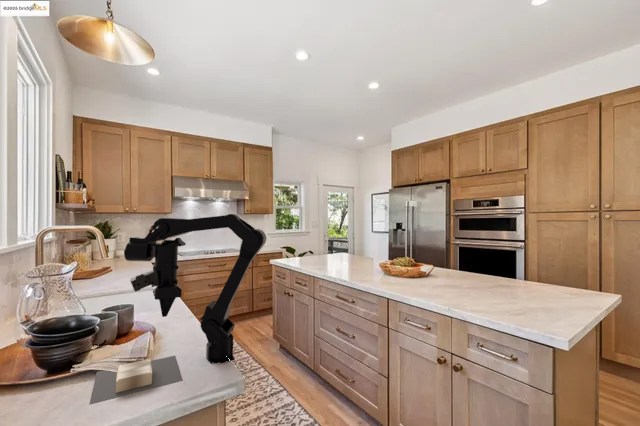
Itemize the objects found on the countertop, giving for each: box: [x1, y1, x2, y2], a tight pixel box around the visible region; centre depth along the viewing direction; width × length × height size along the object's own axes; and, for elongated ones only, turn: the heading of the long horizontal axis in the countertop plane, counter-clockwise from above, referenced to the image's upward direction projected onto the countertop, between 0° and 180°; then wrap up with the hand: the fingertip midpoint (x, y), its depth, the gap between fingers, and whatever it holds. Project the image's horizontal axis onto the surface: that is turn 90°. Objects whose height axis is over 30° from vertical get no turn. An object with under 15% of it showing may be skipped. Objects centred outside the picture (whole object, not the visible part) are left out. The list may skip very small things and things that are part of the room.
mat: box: [89, 355, 183, 405], centre depth 73 cm, size 18×15×1 cm
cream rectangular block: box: [116, 358, 152, 393], centre depth 71 cm, size 7×3×8 cm
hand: (164, 316), depth 83 cm, fingers closed
